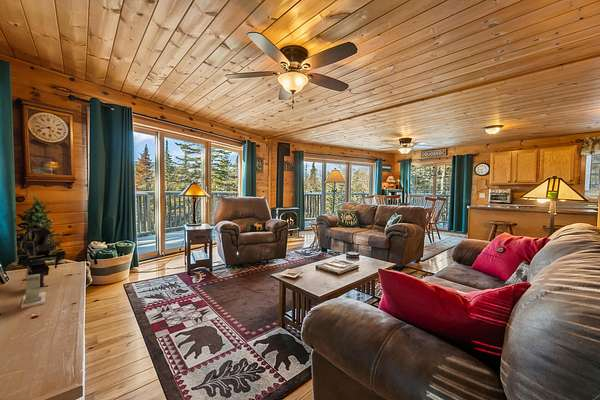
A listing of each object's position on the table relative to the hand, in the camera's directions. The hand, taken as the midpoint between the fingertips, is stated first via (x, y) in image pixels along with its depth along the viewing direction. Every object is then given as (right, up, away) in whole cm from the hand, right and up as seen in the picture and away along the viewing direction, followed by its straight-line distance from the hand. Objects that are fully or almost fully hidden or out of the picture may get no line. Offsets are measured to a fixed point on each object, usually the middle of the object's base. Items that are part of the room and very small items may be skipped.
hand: (44, 270), depth 135 cm
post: (+4, -13, -10) cm, 17 cm away
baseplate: (+3, -14, -8) cm, 16 cm away
